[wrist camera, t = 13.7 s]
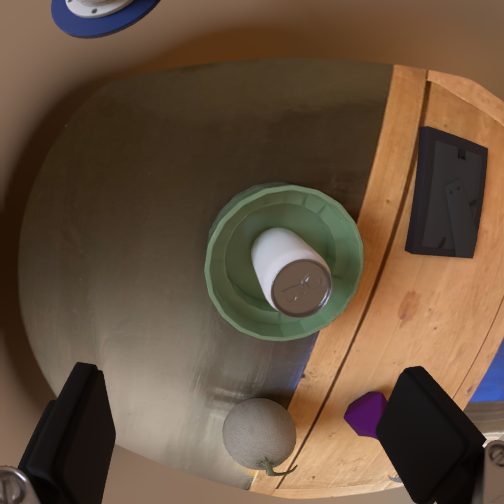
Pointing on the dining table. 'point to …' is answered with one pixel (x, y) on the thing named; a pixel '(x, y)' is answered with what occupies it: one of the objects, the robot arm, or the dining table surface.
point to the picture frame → (447, 195)
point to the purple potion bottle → (367, 415)
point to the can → (291, 273)
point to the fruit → (259, 435)
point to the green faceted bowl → (302, 224)
